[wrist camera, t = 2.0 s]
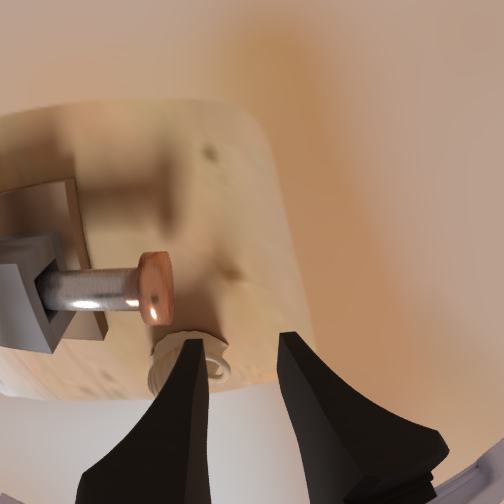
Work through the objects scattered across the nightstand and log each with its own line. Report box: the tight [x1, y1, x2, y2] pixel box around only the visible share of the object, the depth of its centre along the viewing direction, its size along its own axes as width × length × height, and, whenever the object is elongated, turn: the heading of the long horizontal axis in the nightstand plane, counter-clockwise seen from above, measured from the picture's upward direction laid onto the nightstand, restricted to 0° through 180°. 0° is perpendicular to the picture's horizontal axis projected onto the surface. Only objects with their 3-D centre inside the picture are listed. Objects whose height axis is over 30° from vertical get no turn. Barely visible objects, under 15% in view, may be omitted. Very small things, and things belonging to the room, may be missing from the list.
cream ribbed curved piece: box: [148, 331, 231, 398], centre depth 20 cm, size 4×8×5 cm, turn 123°
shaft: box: [33, 251, 174, 325], centre depth 14 cm, size 11×4×4 cm, turn 89°
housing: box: [0, 178, 108, 354], centre depth 14 cm, size 10×12×6 cm
